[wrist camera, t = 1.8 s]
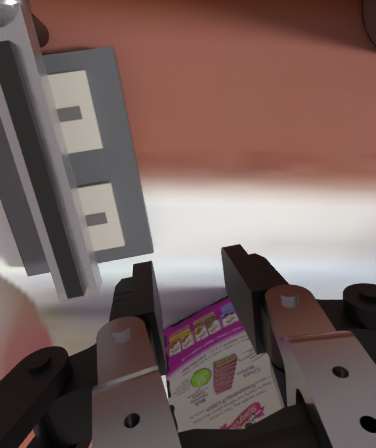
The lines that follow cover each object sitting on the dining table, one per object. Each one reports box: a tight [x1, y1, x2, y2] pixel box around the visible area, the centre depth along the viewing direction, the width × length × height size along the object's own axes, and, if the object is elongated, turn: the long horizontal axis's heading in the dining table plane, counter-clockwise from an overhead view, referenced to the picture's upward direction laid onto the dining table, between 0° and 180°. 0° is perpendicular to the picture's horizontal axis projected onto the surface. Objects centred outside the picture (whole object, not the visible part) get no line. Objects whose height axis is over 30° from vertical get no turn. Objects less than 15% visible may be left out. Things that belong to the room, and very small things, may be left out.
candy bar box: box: [163, 296, 282, 433], centre depth 28 cm, size 11×5×16 cm, turn 117°
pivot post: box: [32, 13, 49, 48], centre depth 22 cm, size 2×2×6 cm
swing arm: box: [0, 0, 102, 301], centre depth 21 cm, size 22×3×3 cm, turn 8°
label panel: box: [0, 46, 154, 276], centre depth 27 cm, size 12×18×3 cm, turn 8°
